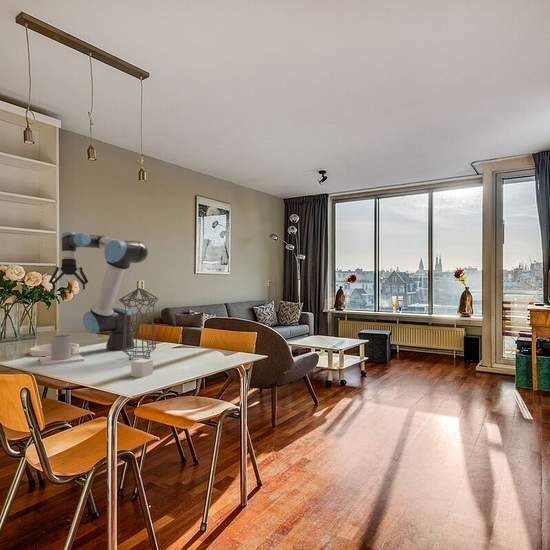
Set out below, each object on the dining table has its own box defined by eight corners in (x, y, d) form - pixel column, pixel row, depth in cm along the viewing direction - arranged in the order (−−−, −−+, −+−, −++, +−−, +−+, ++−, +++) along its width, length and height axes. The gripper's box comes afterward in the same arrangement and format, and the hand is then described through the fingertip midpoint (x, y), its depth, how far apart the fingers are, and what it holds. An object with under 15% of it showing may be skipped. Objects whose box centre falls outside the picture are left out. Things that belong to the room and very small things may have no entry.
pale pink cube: (131, 376, 166) (131, 361, 166) (141, 373, 172) (141, 358, 172) (142, 377, 164) (142, 362, 164) (152, 374, 169) (152, 359, 169)
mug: (74, 358, 199) (74, 335, 199) (56, 361, 192) (56, 337, 192) (62, 355, 206) (62, 333, 207) (45, 358, 200) (44, 335, 200)
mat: (78, 355, 212) (78, 353, 212) (84, 360, 197) (84, 358, 197) (38, 359, 202) (38, 357, 202) (41, 365, 187) (41, 363, 187)
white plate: (86, 348, 233) (86, 343, 233) (64, 356, 209) (64, 350, 209) (46, 348, 233) (46, 343, 233) (20, 356, 210) (20, 350, 210)
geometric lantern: (117, 361, 195) (117, 288, 195) (131, 355, 210) (130, 287, 211) (149, 361, 194) (149, 288, 194) (161, 355, 209) (160, 287, 209)
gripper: (90, 260, 246) (90, 295, 244) (43, 258, 232) (43, 296, 230) (93, 258, 240) (93, 294, 238) (45, 257, 225) (45, 295, 224)
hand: (68, 295), depth 234 cm, fingers open, 13 cm apart
